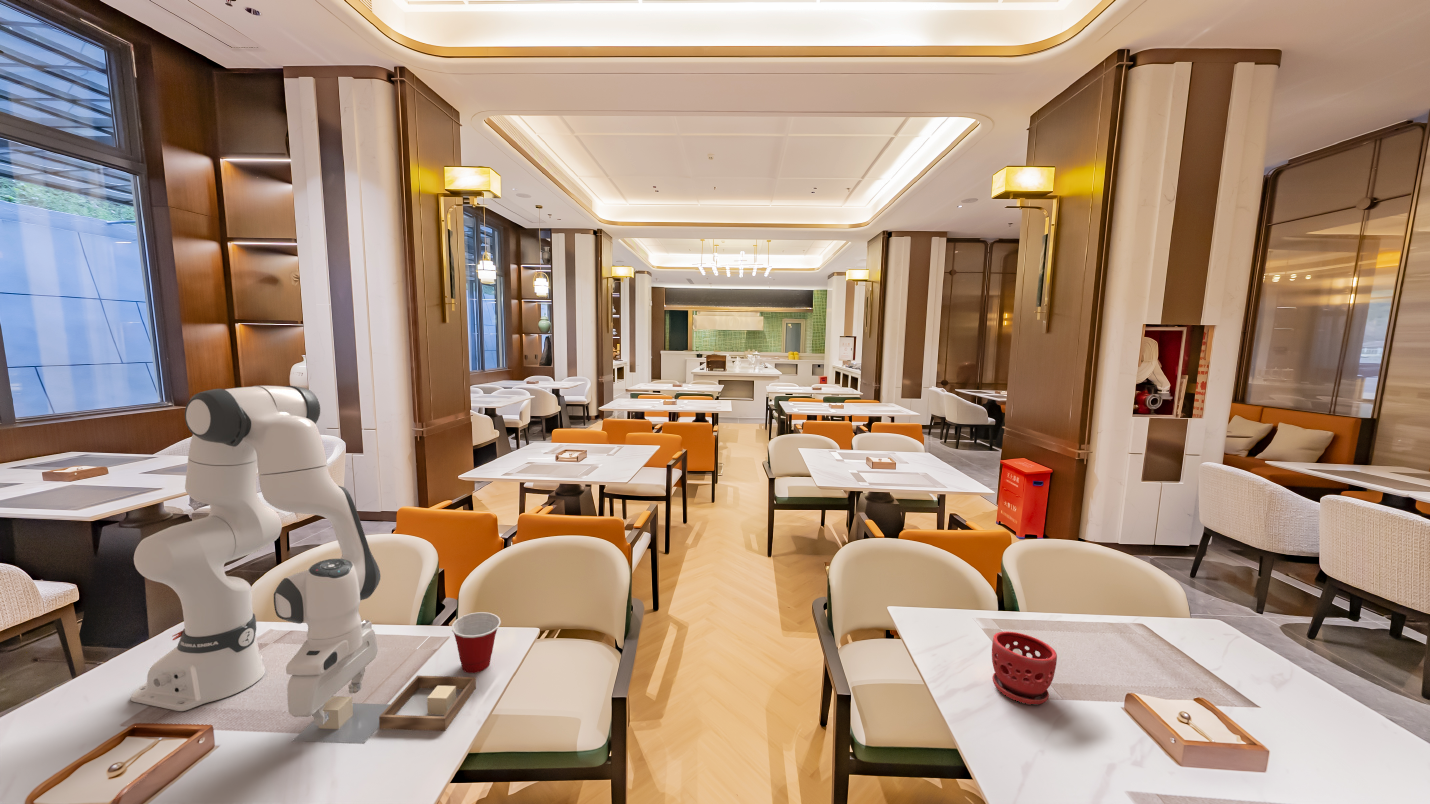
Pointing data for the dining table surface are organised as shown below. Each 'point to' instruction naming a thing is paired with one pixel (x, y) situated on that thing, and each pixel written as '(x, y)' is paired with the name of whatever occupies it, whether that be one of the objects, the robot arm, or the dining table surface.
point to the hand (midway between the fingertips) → (339, 706)
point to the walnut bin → (427, 722)
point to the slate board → (348, 726)
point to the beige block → (441, 699)
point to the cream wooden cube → (337, 711)
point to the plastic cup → (475, 639)
